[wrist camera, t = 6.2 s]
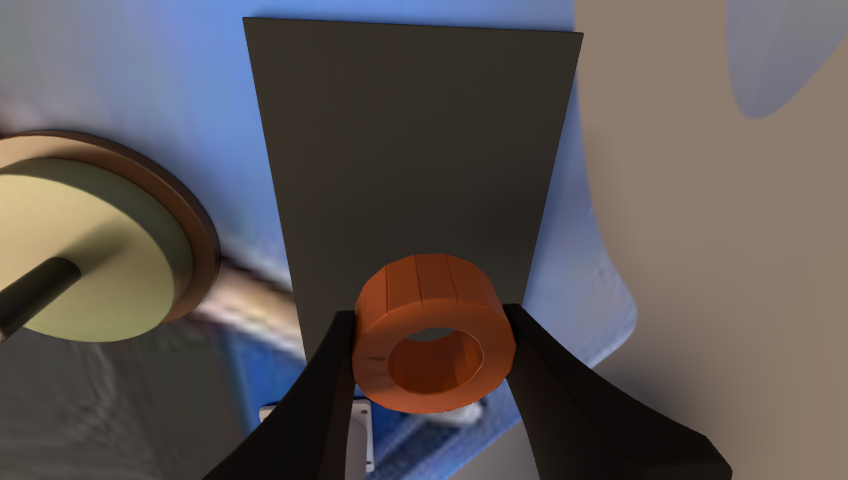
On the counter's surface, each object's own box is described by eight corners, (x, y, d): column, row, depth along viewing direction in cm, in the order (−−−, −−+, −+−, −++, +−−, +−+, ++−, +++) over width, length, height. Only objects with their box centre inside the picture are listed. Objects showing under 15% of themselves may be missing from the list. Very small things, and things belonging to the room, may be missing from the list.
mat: (507, 350, 26) (510, 357, 25) (309, 362, 24) (307, 369, 24) (578, 32, 16) (584, 32, 15) (246, 17, 14) (241, 16, 14)
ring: (486, 356, 16) (503, 408, 14) (360, 363, 15) (356, 420, 13) (504, 250, 13) (530, 295, 11) (351, 254, 13) (345, 303, 10)
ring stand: (240, 314, 22) (191, 415, 16) (39, 323, 20) (-92, 435, 15) (186, 131, 16) (81, 185, 10) (-95, 127, 15) (-388, 187, 9)
